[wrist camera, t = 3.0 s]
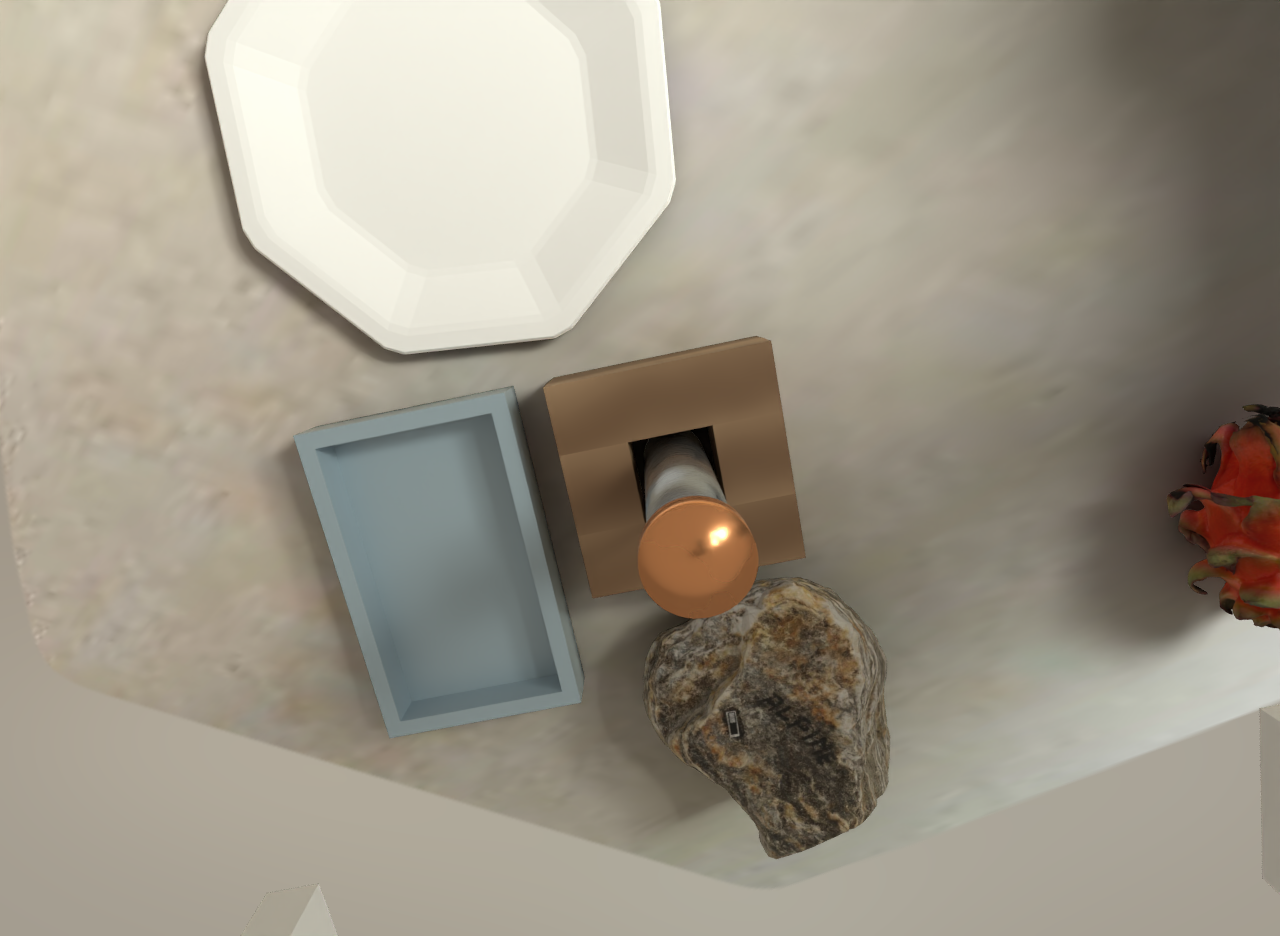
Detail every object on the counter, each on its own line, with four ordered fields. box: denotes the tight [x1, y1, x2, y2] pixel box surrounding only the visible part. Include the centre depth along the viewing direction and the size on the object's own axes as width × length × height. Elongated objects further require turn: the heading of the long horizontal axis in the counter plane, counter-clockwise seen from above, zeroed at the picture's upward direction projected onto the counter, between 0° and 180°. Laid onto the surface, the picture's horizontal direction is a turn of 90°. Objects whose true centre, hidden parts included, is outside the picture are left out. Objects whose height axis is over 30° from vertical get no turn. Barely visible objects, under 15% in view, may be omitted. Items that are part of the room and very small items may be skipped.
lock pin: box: [638, 430, 759, 619], centre depth 29 cm, size 4×4×15 cm
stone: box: [643, 577, 890, 859], centre depth 36 cm, size 14×10×10 cm
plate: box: [204, 0, 676, 355], centre depth 32 cm, size 20×20×2 cm
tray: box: [293, 386, 585, 738], centre depth 36 cm, size 16×10×2 cm, turn 12°
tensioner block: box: [543, 336, 806, 598], centre depth 34 cm, size 10×10×4 cm
